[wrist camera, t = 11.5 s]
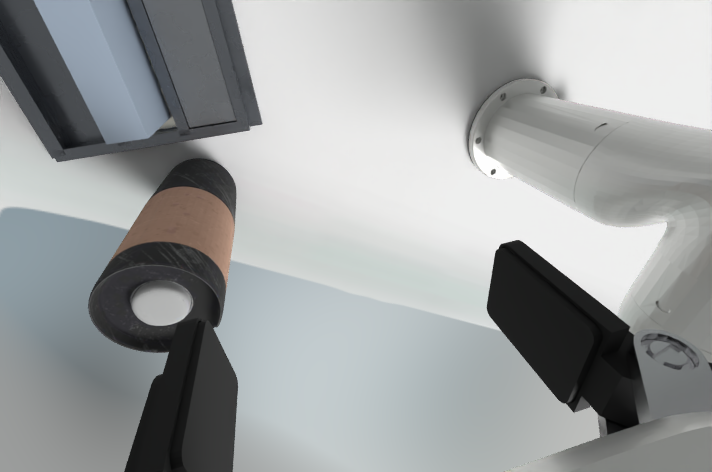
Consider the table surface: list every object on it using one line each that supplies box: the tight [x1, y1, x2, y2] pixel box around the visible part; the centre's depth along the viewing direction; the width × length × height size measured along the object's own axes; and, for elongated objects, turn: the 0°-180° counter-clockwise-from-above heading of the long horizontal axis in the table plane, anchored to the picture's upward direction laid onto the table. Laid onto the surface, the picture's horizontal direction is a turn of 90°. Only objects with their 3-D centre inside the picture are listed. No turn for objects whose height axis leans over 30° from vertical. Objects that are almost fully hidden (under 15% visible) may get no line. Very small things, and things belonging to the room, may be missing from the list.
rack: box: [0, 0, 262, 162], centre depth 29 cm, size 20×14×3 cm
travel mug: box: [88, 159, 236, 353], centre depth 29 cm, size 8×8×20 cm
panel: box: [34, 0, 171, 144], centre depth 26 cm, size 3×10×8 cm, turn 5°
